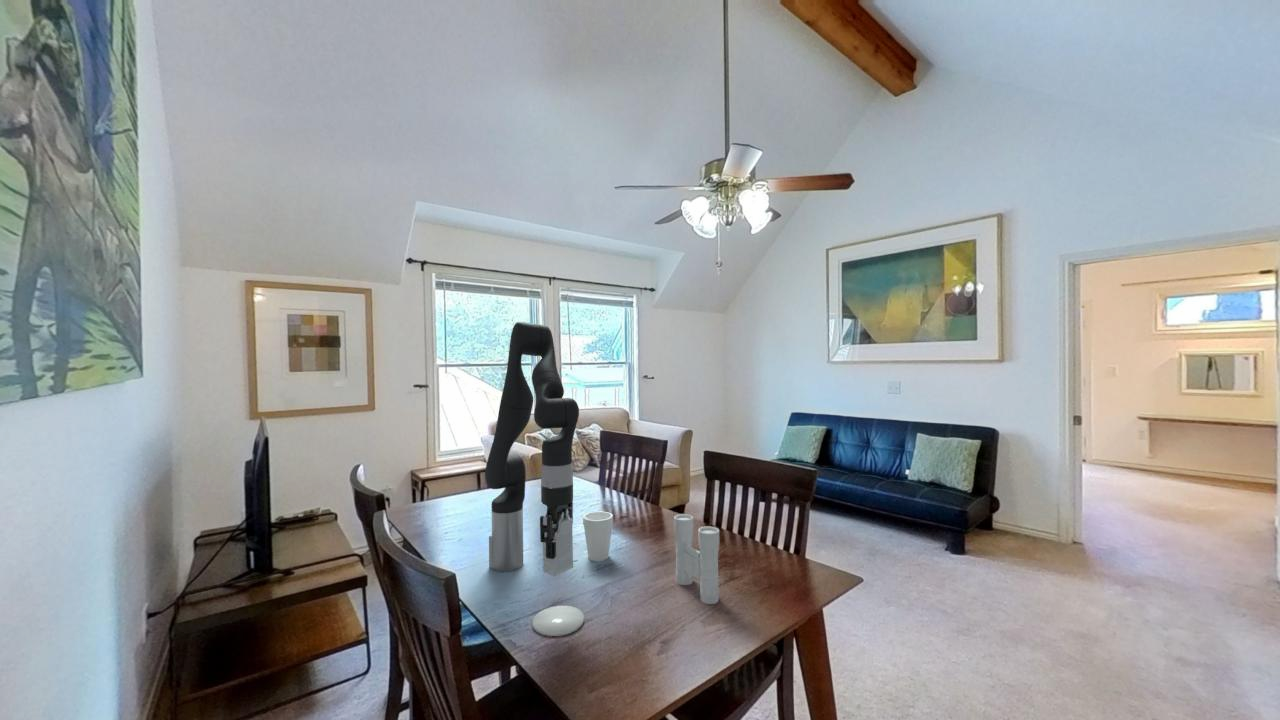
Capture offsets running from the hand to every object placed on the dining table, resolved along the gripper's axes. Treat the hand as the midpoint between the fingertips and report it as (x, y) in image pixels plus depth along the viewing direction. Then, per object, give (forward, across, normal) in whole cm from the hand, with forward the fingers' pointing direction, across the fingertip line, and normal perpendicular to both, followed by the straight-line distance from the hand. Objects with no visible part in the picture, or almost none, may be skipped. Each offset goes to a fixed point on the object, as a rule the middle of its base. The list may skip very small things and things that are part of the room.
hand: (557, 551), depth 113 cm
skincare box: (+5, 0, 0) cm, 5 cm away
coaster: (+17, 0, 0) cm, 17 cm away
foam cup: (+17, -38, -3) cm, 42 cm away
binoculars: (+17, -23, +30) cm, 41 cm away
